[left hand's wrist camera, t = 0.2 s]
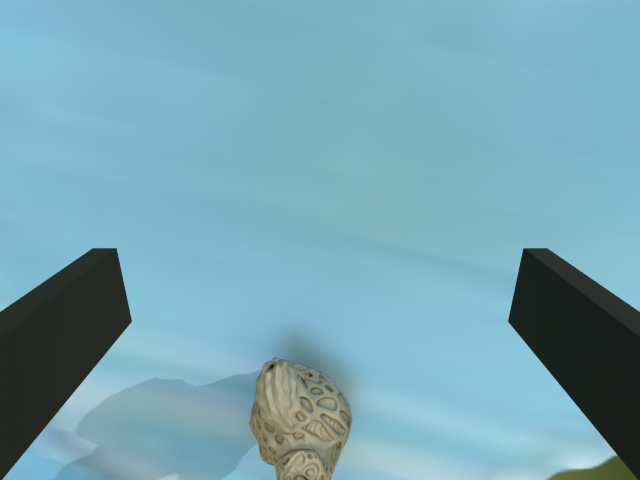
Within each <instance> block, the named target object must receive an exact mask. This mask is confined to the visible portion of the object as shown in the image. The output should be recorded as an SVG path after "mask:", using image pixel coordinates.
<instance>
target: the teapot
mask: <svg viewBox="0 0 640 480" xmlns="http://www.w3.org/2000/svg"><path fill="white" fill-rule="evenodd" d="M255 398H256V401H255V403H254V404H253V407H252V412H251V419H250V422H249V424H250V427H251V431H252V432H253V434H254V435H255V437H256V439H257V441H258V445H259V450H260V456H261V458H262V459H263V461H265V462H266V463H268V464H270V465H274V466H275V470H276V476H277V480H331V477H332V474H333V472H334V469H335V467H336V464H337V462H338V459H339V456H340V454H341V450H342V448H343V447H344V445H345V443H346V441H347V439H348V436H349V432H350V428H351V423H352V416H351V411H350V405H349V402H348V400H347V398H346V397H345V396H344V395H343V394H342V393H341V391H340V390H339V389H338V388H337V387H336V385H335V384H334V383H333V382H332V381H331V380H330V379H329V378H328V377H327V376H325V375H323V374H322V373H320V372H318V371H316V370H314V369H311V368H308V367H305V366H303V365H301V364H296V365H294V364H292V363H291V362H290V361H287V360H281V359H279V358H277V357H275V358H274V359H272V360H271V361H269V362H266V363H265V364H264V365H263V366H262V372H261V374H260V375H259V377H258V378H257V380H256V394H255Z"/></svg>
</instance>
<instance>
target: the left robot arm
mask: <svg viewBox="0 0 640 480" xmlns="http://www.w3.org/2000/svg"><path fill="white" fill-rule="evenodd" d="M131 322H132V320H131V315H130V310H129V305H128V301H127V296H126V291H125V286H124V282H123V277H122V272H121V267H120V263H119V258H118V253H117V248H93V249H91V250H90V251H88V252H87V253H85V254H84V255H82V256H81V257H80V258H78V259H77V260H75V261H74V262H72V263H71V264H69V265H68V266H66V267H65V268H64V269H62V270H61V271H59V272H58V273H56V274H55V275H53V276H52V277H51V278H49V279H48V280H46V281H45V282H43V283H42V284H40V285H39V286H37V287H36V288H35V289H33V290H32V291H30V292H29V293H27V294H26V295H24V296H23V297H21V298H20V299H19V300H17V301H16V302H14V303H13V304H11V305H10V306H8V307H7V308H5V309H4V310H3V311H1V312H0V480H2V479H3V478H4V477H5V475H6V474H7V473H8V472H9V471H10V469H11V468H12V467H13V466H14V465H15V463H16V462H17V461H18V460H19V458H20V457H21V456H22V455H23V454H24V452H25V451H26V450H27V449H28V447H29V446H30V445H31V444H32V443H33V441H34V440H35V439H36V438H37V436H38V435H39V434H40V433H41V432H42V430H43V429H44V428H45V427H46V426H47V424H48V423H49V422H50V421H51V419H52V418H53V417H54V416H55V415H56V413H57V412H58V411H59V410H60V408H61V407H62V406H63V405H64V404H65V402H66V401H67V400H68V399H69V397H70V396H71V395H72V394H73V393H74V391H75V390H76V389H77V388H78V386H79V385H80V384H81V383H82V382H83V380H84V379H85V378H86V377H87V376H88V374H89V373H90V372H91V371H92V369H93V368H94V367H95V366H96V365H97V363H98V362H99V361H100V360H101V358H102V357H103V356H104V355H105V354H106V352H107V351H108V350H109V349H110V347H111V346H112V345H113V344H114V343H115V341H116V340H117V339H118V338H119V337H120V335H121V334H122V333H123V332H124V330H125V329H126V328H127V327H128V326H129V324H130V323H131ZM508 322H509V323H510V324H511V326H512V327H513V328H514V329H515V330H516V332H517V333H518V334H519V335H520V337H521V338H522V339H523V340H524V341H525V343H526V344H527V345H528V346H529V347H530V349H531V350H532V351H533V352H534V354H535V355H536V356H537V357H538V358H539V360H540V361H541V362H542V363H543V365H544V366H545V367H546V368H547V369H548V371H549V372H550V373H551V374H552V376H553V377H554V378H555V379H556V380H557V382H558V383H559V384H560V385H561V386H562V388H563V389H564V390H565V391H566V393H567V394H568V395H569V396H570V397H571V399H572V400H573V401H574V402H575V404H576V405H577V406H578V407H579V408H580V410H581V411H582V412H583V413H584V415H585V416H586V417H587V418H588V419H589V421H590V422H591V423H592V424H593V426H594V427H595V428H596V429H597V430H598V432H599V433H600V434H601V435H602V436H603V438H604V439H605V440H606V441H607V443H608V444H609V445H610V446H611V447H612V449H613V450H614V451H615V452H616V454H617V455H618V456H619V457H620V458H621V460H622V461H623V462H624V463H625V465H626V466H627V467H628V468H629V469H630V471H631V472H632V473H633V474H634V475H635V477H636V478H637V479H638V480H640V312H639V311H637V310H636V309H635V308H633V307H632V306H630V305H629V304H627V303H626V302H624V301H623V300H621V299H620V298H619V297H617V296H616V295H614V294H613V293H611V292H610V291H608V290H607V289H605V288H604V287H603V286H601V285H600V284H598V283H597V282H595V281H594V280H592V279H591V278H589V277H588V276H587V275H585V274H584V273H582V272H581V271H579V270H578V269H576V268H575V267H574V266H572V265H571V264H569V263H568V262H566V261H565V260H563V259H562V258H560V257H559V256H558V255H556V254H555V253H553V252H552V251H550V250H549V249H547V248H523V253H522V258H521V263H520V267H519V272H518V277H517V282H516V286H515V291H514V296H513V301H512V305H511V310H510V315H509V320H508Z"/></svg>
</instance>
